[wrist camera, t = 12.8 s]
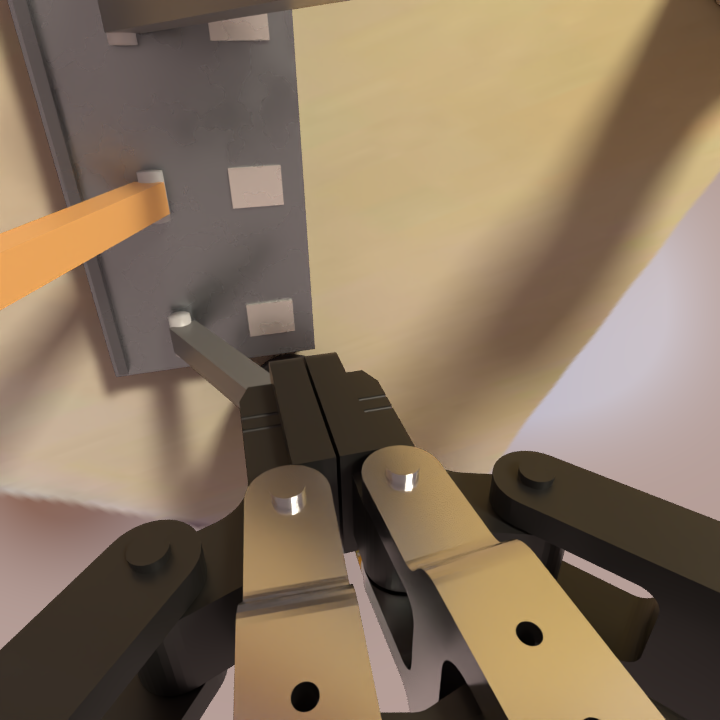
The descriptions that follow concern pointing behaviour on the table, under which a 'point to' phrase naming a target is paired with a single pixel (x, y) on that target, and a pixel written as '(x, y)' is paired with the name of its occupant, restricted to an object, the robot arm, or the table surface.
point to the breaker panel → (182, 173)
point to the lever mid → (78, 234)
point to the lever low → (182, 14)
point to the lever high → (214, 358)
